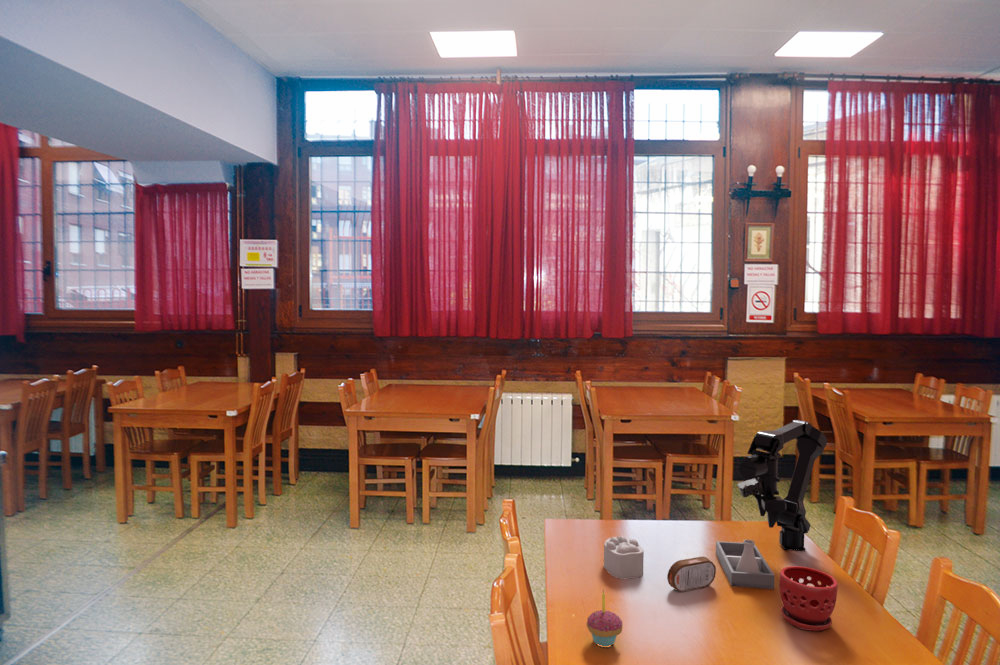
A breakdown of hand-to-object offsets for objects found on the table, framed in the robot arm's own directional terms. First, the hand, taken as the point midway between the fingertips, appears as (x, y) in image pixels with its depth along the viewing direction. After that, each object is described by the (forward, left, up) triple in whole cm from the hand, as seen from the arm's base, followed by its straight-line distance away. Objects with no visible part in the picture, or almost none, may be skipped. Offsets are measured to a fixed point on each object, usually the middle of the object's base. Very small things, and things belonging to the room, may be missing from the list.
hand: (766, 521), depth 195 cm
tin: (+26, +24, -12) cm, 37 cm away
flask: (+9, +15, -11) cm, 21 cm away
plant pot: (0, +38, -12) cm, 40 cm away
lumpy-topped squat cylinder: (+45, +14, -12) cm, 49 cm away
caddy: (+9, +10, -12) cm, 18 cm away
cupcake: (+51, +55, -12) cm, 76 cm away
